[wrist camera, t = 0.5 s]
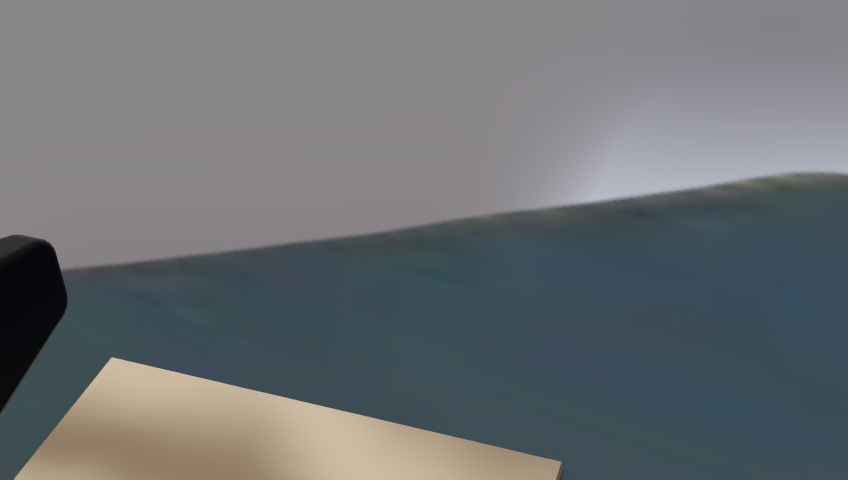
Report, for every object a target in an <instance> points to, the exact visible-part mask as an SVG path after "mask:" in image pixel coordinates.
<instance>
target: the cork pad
mask: <svg viewBox="0 0 848 480" xmlns="http://www.w3.org/2000/svg"><path fill="white" fill-rule="evenodd" d="M562 471H563V468H562V462H560V461H555V460H551V459H547V458H542V457H538V456H534V455H529V454H525V453H521V452H517V451H512V450H508V449H504V448H499V447H495V446H491V445H486V444H482V443H478V442H474V441H469V440H465V439H461V438H456V437H452V436H448V435H443V434H439V433H435V432H431V431H426V430H422V429H418V428H413V427H409V426H405V425H400V424H396V423H392V422H387V421H383V420H379V419H375V418H370V417H366V416H362V415H357V414H353V413H349V412H344V411H340V410H336V409H332V408H327V407H323V406H319V405H314V404H310V403H306V402H301V401H297V400H293V399H289V398H284V397H280V396H276V395H271V394H267V393H263V392H258V391H254V390H250V389H245V388H241V387H237V386H233V385H228V384H224V383H220V382H215V381H211V380H207V379H202V378H198V377H194V376H190V375H185V374H181V373H177V372H172V371H168V370H164V369H159V368H155V367H151V366H146V365H142V364H138V363H134V362H129V361H125V360H121V359H116V358H111V359H110V360H109V362H108V363H107V364H106V365H105V367H104V368H103V369H102V370H101V372H100V373H99V374H98V375H97V377H96V378H95V379H94V380H93V382H92V383H91V384H90V385H89V387H88V388H87V389H86V390H85V392H84V393H83V394H82V395H81V397H80V398H79V399H78V400H77V401H76V403H75V404H74V405H73V406H72V408H71V409H70V410H69V411H68V413H67V414H66V415H65V416H64V418H63V419H62V420H61V421H60V423H59V424H58V425H57V426H56V428H55V429H54V430H53V431H52V433H51V434H50V435H49V436H48V438H47V439H46V440H45V441H44V443H43V444H42V445H41V446H40V448H39V449H38V450H37V451H36V453H35V454H34V455H33V456H32V458H31V459H30V460H29V461H28V462H27V464H26V465H25V466H24V467H23V469H22V470H21V471H20V472H19V474H18V475H17V476H16V477H15V479H14V480H560V477H561V474H562Z"/></svg>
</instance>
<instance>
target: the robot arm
mask: <svg viewBox="0 0 848 480" xmlns="http://www.w3.org/2000/svg"><path fill="white" fill-rule="evenodd" d="M66 307H67V292H66V288H65V284H64V281H63V277H62V274H61V270H60V267H59V263H58V259H57V256H56V252H55V250H54V248H53V246H52V245H51V244H50V243H49V242H47V241H46V240H43V239H39V238H34V237H28V236H24V235H11V236H8V237H5V238H2V239H0V414H1V413H2V411H3V410H4V408H5V407H6V405H7V404H8V402H9V401H10V399H11V398H12V396H13V395H14V393H15V391H16V390H17V388H18V387H19V385H20V384H21V382H22V380H23V379H24V377H25V376H26V374H27V373H28V371H29V369H30V368H31V366H32V365H33V363H34V362H35V360H36V358H37V357H38V355H39V354H40V352H41V351H42V349H43V347H44V346H45V344H46V343H47V341H48V340H49V338H50V336H51V335H52V333H53V332H54V330H55V329H56V327H57V325H58V324H59V322H60V321H61V319H62V317H63V316H64V313H65V311H66Z"/></svg>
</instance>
